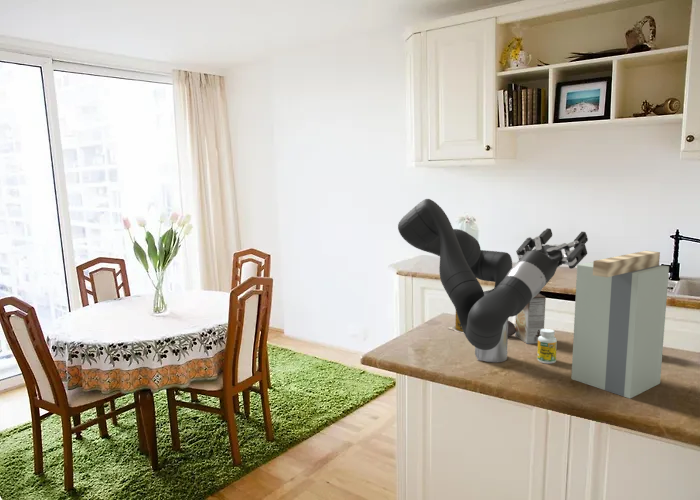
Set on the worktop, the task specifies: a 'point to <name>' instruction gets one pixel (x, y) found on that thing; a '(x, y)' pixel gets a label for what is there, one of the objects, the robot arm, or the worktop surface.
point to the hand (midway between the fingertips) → (567, 233)
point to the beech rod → (625, 263)
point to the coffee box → (531, 320)
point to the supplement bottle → (547, 346)
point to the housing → (619, 329)
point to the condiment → (457, 325)
